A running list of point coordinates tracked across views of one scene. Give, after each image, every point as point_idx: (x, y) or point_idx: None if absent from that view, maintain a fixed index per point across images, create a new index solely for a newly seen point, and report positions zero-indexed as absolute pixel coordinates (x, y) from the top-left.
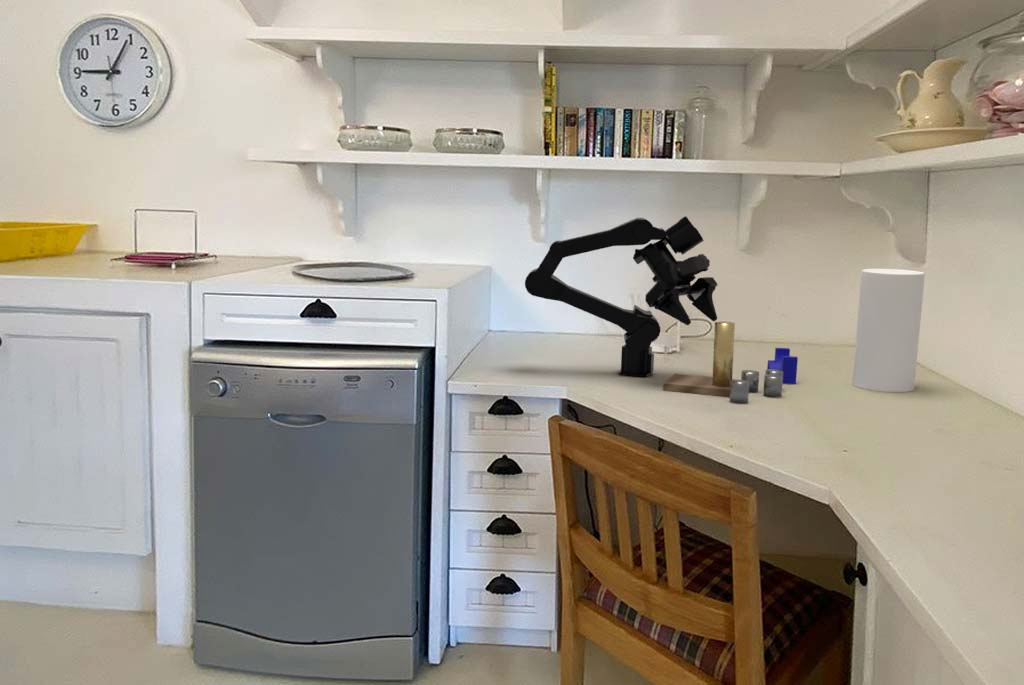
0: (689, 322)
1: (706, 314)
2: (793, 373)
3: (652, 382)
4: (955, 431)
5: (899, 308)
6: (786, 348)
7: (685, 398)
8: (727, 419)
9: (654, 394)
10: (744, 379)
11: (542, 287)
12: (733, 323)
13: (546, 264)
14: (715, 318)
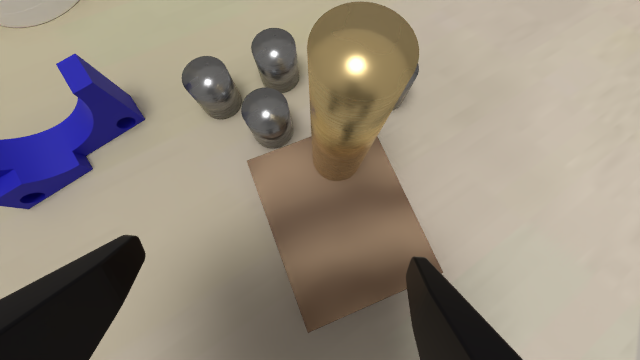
0: (424, 260)
1: (97, 333)
2: (114, 87)
3: (379, 355)
4: None
5: None
6: None
7: (456, 183)
8: (523, 39)
9: (487, 258)
10: (289, 120)
11: None
12: (343, 9)
13: None
14: (136, 241)
